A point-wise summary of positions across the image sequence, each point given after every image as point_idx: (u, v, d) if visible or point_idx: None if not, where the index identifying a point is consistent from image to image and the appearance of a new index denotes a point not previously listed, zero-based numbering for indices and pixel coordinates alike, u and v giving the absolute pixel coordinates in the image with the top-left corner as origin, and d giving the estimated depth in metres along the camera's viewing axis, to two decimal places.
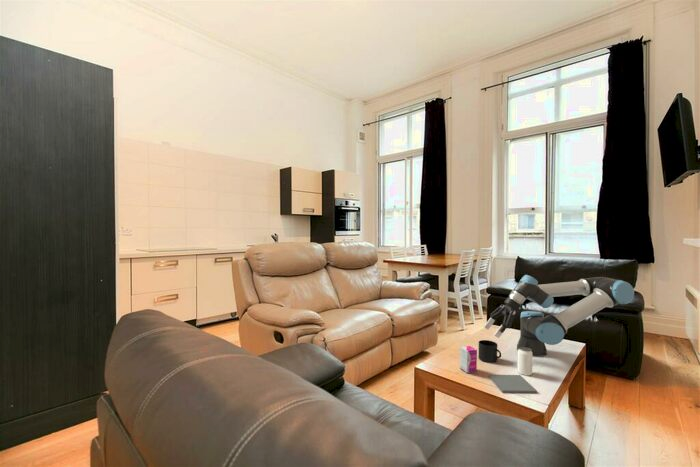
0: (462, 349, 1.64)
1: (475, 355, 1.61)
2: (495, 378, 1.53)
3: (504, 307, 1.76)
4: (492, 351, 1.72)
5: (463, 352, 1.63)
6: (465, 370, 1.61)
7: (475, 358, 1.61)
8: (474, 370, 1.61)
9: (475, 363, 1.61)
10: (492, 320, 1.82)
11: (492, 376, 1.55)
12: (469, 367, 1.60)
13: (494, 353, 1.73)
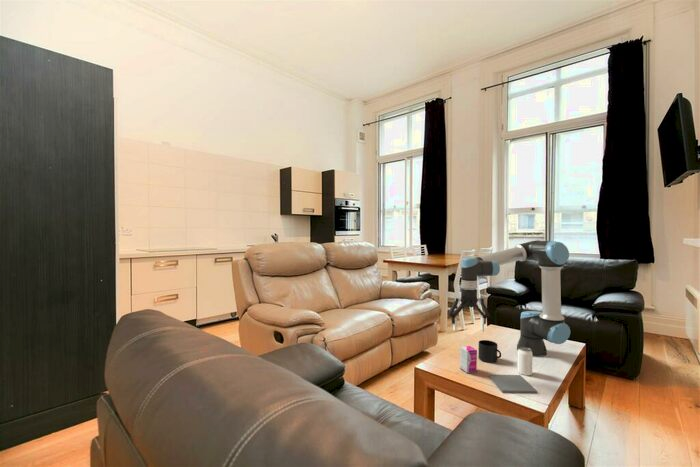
0: (462, 349, 1.64)
1: (475, 355, 1.61)
2: (495, 378, 1.53)
3: (468, 301, 1.61)
4: (492, 351, 1.72)
5: (463, 352, 1.63)
6: (465, 370, 1.61)
7: (475, 358, 1.61)
8: (474, 370, 1.61)
9: (475, 363, 1.61)
10: None
11: (492, 376, 1.55)
12: (469, 367, 1.60)
13: (494, 353, 1.73)
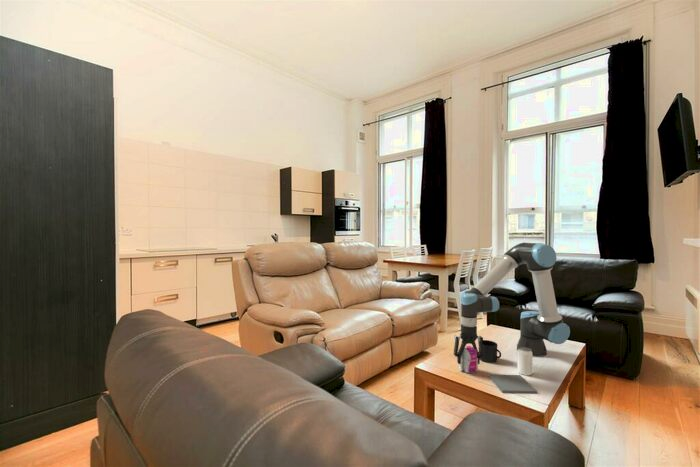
0: None
1: (476, 355, 1.61)
2: (495, 378, 1.53)
3: (467, 337, 1.61)
4: (492, 351, 1.72)
5: (463, 352, 1.63)
6: (465, 370, 1.61)
7: (475, 358, 1.61)
8: (474, 370, 1.61)
9: (475, 363, 1.61)
10: None
11: (492, 376, 1.55)
12: (469, 367, 1.60)
13: (494, 353, 1.73)
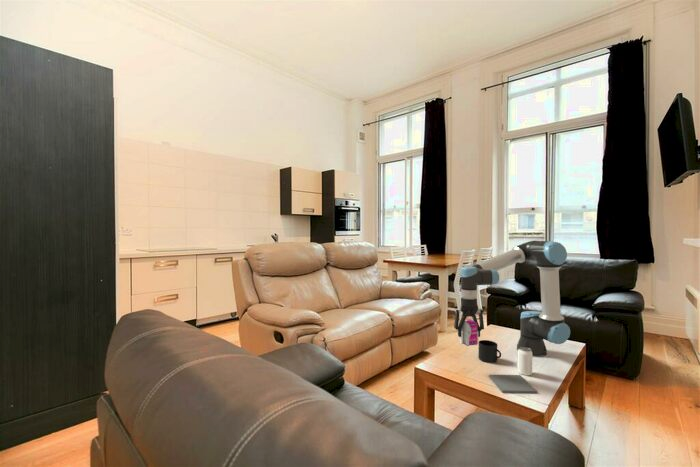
0: None
1: (476, 328, 1.61)
2: (495, 378, 1.53)
3: (468, 310, 1.61)
4: (492, 351, 1.72)
5: (463, 325, 1.63)
6: (466, 343, 1.61)
7: (476, 331, 1.61)
8: (475, 343, 1.61)
9: (476, 336, 1.61)
10: None
11: (492, 376, 1.55)
12: (469, 339, 1.60)
13: (494, 353, 1.73)
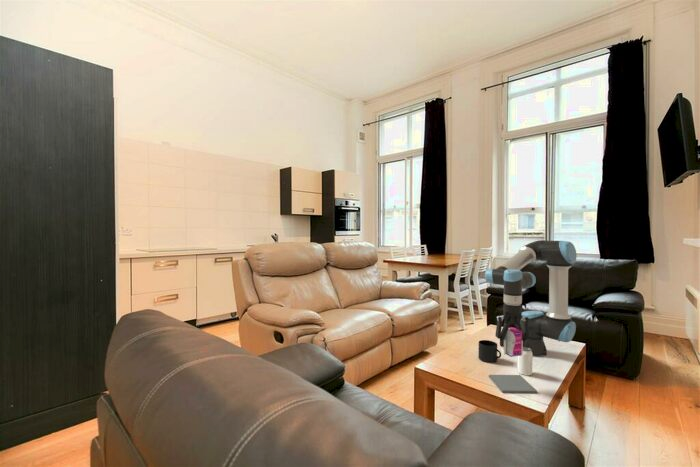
0: None
1: (520, 337, 1.46)
2: (495, 378, 1.53)
3: (512, 317, 1.47)
4: (492, 351, 1.72)
5: (506, 333, 1.48)
6: (509, 354, 1.46)
7: (520, 340, 1.46)
8: (519, 353, 1.47)
9: (520, 346, 1.47)
10: None
11: (492, 376, 1.55)
12: (513, 350, 1.46)
13: (494, 353, 1.73)
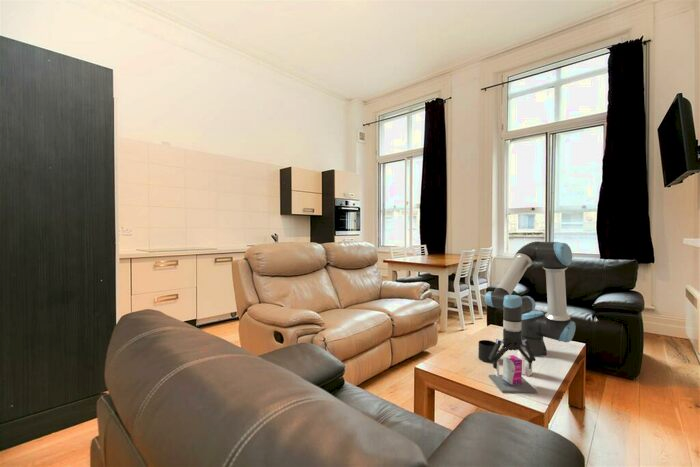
0: (505, 359, 1.49)
1: (521, 366, 1.47)
2: (495, 378, 1.53)
3: (512, 343, 1.47)
4: None
5: (506, 361, 1.49)
6: (509, 382, 1.47)
7: (520, 369, 1.47)
8: (519, 382, 1.47)
9: (520, 375, 1.47)
10: None
11: (492, 376, 1.55)
12: (513, 378, 1.46)
13: None
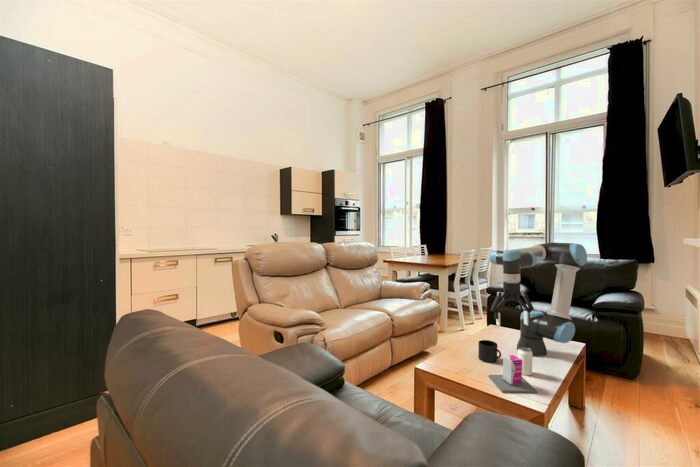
0: (505, 359, 1.49)
1: (521, 366, 1.47)
2: (495, 378, 1.53)
3: (511, 295, 1.56)
4: (492, 351, 1.72)
5: (506, 361, 1.49)
6: (509, 382, 1.47)
7: (520, 369, 1.47)
8: (519, 382, 1.47)
9: (520, 375, 1.47)
10: None
11: (492, 376, 1.55)
12: (513, 378, 1.46)
13: (494, 353, 1.73)
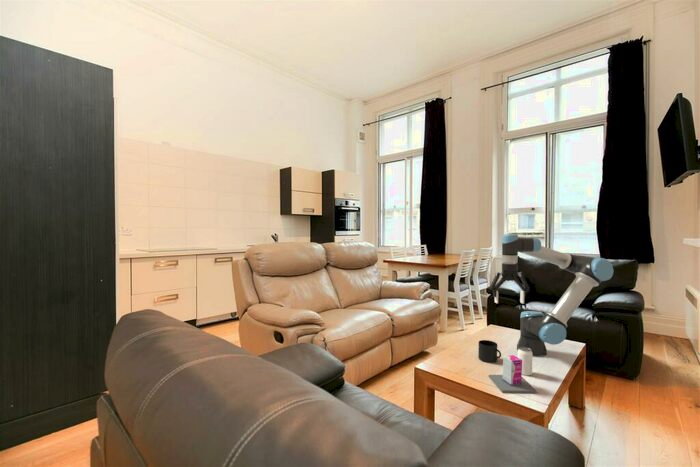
0: (505, 359, 1.49)
1: (521, 366, 1.47)
2: (495, 378, 1.53)
3: (509, 275, 1.71)
4: (492, 351, 1.72)
5: (506, 361, 1.49)
6: (509, 382, 1.47)
7: (520, 369, 1.47)
8: (519, 382, 1.47)
9: (520, 375, 1.47)
10: None
11: (492, 376, 1.55)
12: (513, 378, 1.46)
13: (494, 353, 1.73)
